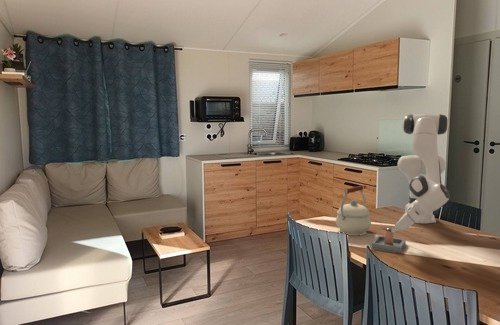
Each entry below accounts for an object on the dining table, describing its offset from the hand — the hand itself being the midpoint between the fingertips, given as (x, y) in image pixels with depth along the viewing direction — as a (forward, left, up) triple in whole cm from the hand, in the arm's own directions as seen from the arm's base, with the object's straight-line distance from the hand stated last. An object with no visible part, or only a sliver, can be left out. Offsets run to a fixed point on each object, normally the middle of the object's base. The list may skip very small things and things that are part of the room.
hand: (394, 228), depth 181 cm
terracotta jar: (0, -2, -8) cm, 9 cm away
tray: (0, -2, -9) cm, 9 cm away
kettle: (-15, -23, -9) cm, 29 cm away
